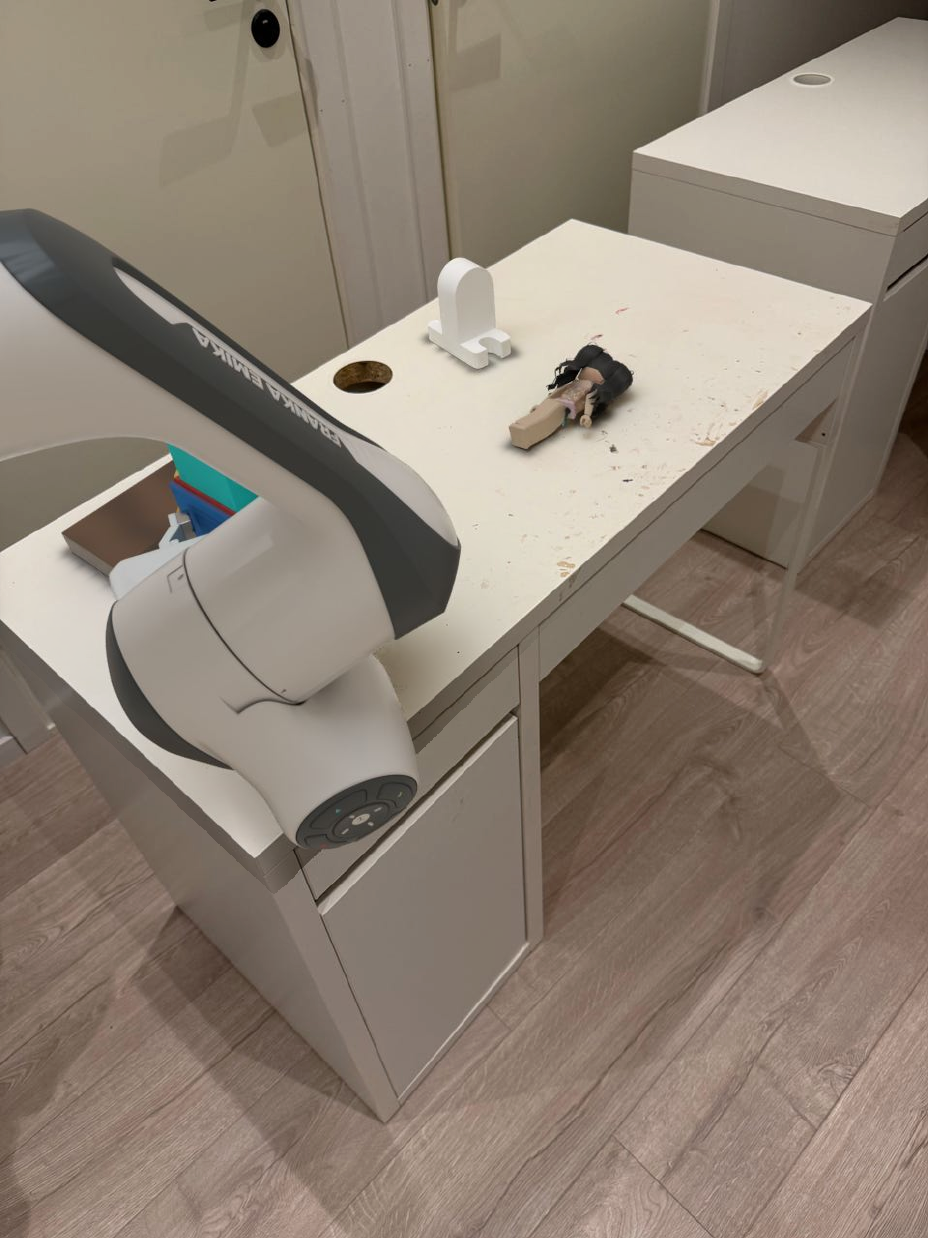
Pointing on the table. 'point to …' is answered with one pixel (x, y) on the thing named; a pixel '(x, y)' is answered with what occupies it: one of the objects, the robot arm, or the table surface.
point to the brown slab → (126, 522)
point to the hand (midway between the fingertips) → (243, 499)
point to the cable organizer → (467, 314)
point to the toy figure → (574, 395)
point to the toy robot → (205, 492)
